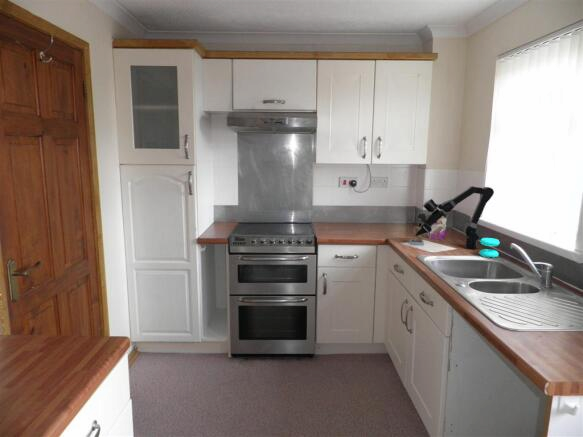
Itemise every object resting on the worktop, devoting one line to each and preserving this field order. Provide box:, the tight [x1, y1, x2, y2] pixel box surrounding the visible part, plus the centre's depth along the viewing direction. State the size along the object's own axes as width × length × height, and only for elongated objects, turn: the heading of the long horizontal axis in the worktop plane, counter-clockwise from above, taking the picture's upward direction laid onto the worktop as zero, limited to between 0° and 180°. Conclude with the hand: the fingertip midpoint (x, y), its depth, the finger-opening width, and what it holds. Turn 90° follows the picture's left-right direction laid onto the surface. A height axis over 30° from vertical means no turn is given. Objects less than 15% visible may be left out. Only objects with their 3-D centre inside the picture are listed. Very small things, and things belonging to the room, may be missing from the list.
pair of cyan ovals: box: [479, 237, 501, 259], centre depth 229 cm, size 10×10×10 cm
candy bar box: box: [427, 215, 448, 240], centre depth 275 cm, size 11×5×16 cm, turn 74°
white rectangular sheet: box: [400, 239, 457, 253], centre depth 250 cm, size 21×27×1 cm
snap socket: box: [409, 239, 424, 246], centre depth 255 cm, size 8×8×2 cm
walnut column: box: [412, 226, 422, 242], centre depth 254 cm, size 4×4×11 cm
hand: (415, 234), depth 254 cm, fingers open, 9 cm apart
